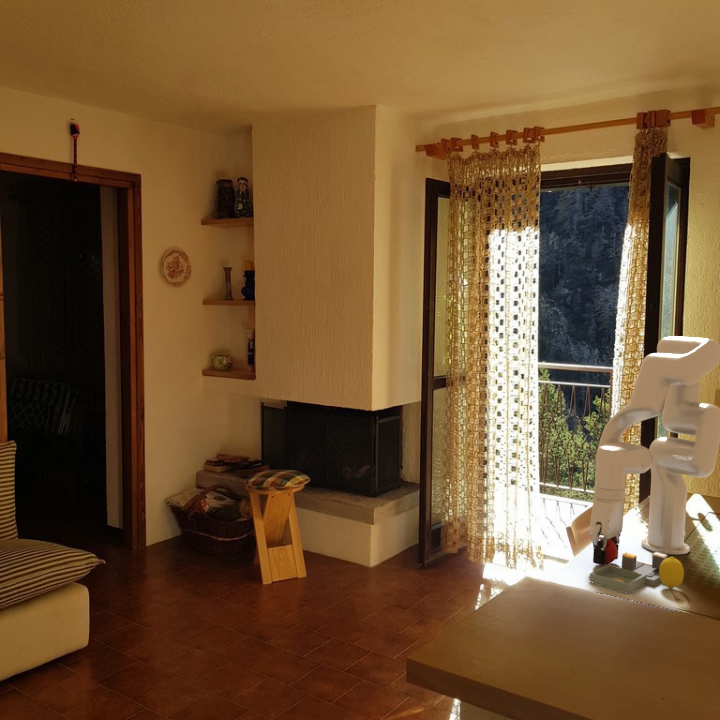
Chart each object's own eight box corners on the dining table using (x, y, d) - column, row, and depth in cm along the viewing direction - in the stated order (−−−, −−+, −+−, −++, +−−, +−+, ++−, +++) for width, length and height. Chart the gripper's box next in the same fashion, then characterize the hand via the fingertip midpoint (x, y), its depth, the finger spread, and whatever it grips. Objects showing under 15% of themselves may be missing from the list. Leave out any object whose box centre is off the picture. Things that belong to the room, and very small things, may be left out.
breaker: (655, 565, 190) (655, 552, 190) (666, 568, 188) (667, 554, 188) (651, 567, 189) (652, 553, 188) (663, 570, 187) (663, 556, 186)
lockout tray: (607, 572, 190) (608, 564, 190) (645, 583, 183) (646, 574, 183) (589, 582, 183) (589, 573, 183) (628, 593, 176) (629, 584, 176)
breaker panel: (636, 566, 195) (636, 559, 195) (671, 575, 189) (671, 569, 189) (617, 576, 187) (618, 569, 187) (653, 586, 181) (653, 579, 181)
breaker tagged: (625, 566, 189) (625, 552, 188) (635, 569, 187) (636, 555, 186) (621, 568, 187) (622, 554, 187) (632, 571, 185) (633, 557, 185)
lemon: (685, 594, 177) (687, 561, 176) (660, 592, 178) (662, 559, 177) (680, 586, 182) (682, 554, 182) (656, 583, 183) (658, 551, 183)
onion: (613, 570, 192) (615, 540, 191) (591, 565, 195) (592, 535, 194) (619, 564, 197) (620, 534, 196) (596, 559, 200) (598, 530, 199)
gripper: (610, 485, 203) (606, 550, 204) (580, 496, 191) (576, 564, 192) (637, 491, 198) (633, 557, 199) (608, 502, 185) (603, 572, 187)
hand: (605, 560), depth 195 cm, fingers open, 6 cm apart
